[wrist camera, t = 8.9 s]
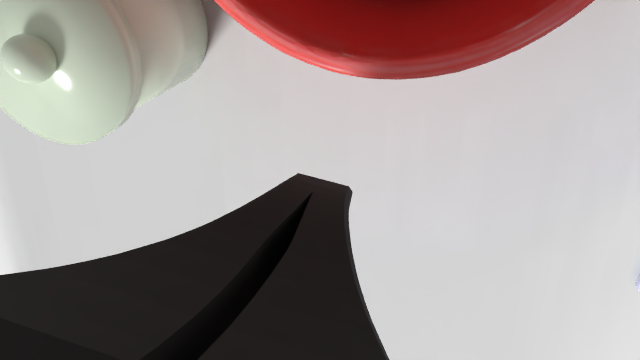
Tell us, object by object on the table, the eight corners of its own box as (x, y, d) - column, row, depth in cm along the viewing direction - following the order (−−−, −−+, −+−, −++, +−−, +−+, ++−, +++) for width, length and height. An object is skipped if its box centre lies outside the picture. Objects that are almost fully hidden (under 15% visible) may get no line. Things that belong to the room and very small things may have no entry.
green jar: (216, -45, 19) (90, -29, 13) (212, 105, 22) (111, 180, 16) (75, -72, 20) (-110, -70, 14) (91, 76, 23) (-51, 134, 17)
